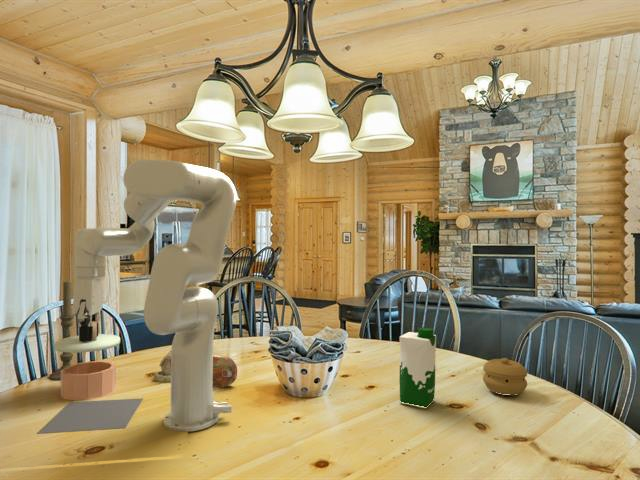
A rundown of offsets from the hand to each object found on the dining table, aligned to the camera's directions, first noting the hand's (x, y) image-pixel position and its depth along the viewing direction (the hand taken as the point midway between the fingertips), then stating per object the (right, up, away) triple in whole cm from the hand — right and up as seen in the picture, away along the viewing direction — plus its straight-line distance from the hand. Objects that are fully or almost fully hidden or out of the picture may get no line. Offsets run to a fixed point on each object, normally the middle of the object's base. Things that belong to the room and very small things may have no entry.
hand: (88, 338), depth 118 cm
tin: (+33, -16, +9) cm, 38 cm away
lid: (0, -2, 0) cm, 2 cm away
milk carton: (+90, -17, -4) cm, 92 cm away
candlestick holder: (-15, -15, +14) cm, 26 cm away
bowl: (0, -15, 0) cm, 15 cm away
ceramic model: (+20, -16, +15) cm, 29 cm away
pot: (+117, -17, +4) cm, 118 cm away
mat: (+10, -15, -16) cm, 24 cm away
